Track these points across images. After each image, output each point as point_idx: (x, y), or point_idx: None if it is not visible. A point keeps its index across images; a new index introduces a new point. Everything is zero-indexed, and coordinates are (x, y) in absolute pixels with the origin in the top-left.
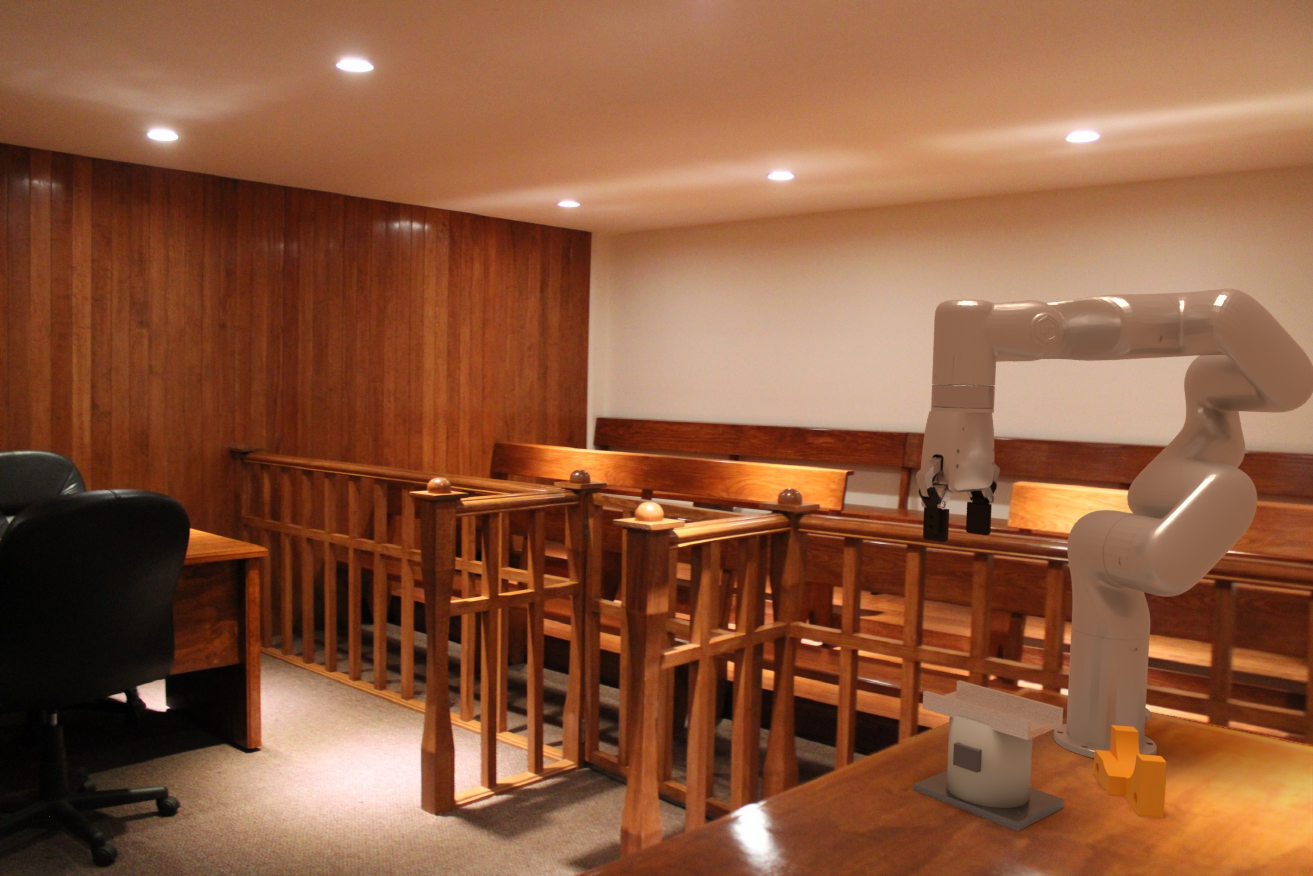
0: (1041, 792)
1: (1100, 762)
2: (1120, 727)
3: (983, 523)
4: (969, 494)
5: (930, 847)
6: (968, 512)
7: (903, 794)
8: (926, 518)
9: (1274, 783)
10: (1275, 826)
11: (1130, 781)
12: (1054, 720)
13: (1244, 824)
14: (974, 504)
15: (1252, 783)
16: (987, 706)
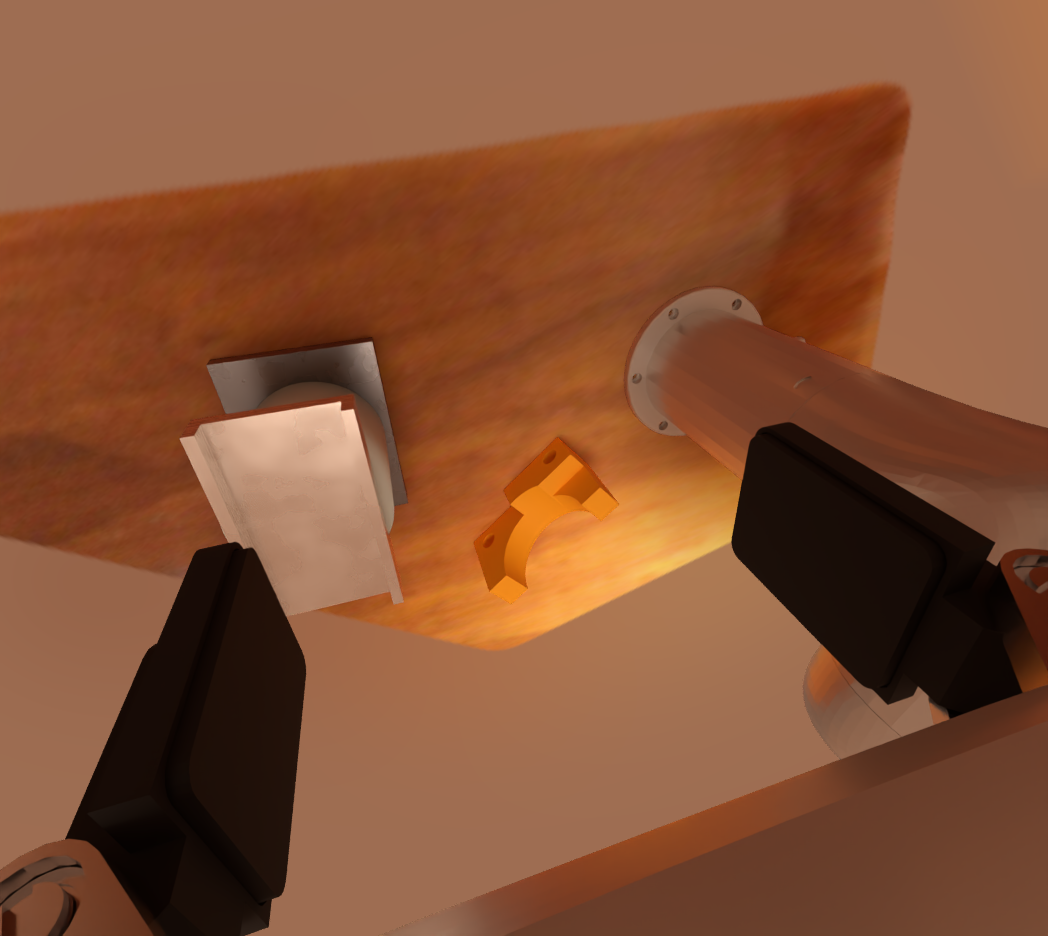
0: (398, 477)
1: (543, 474)
2: (600, 499)
3: (777, 575)
4: (1024, 641)
5: (96, 513)
6: (859, 517)
7: (185, 356)
8: (104, 753)
9: (698, 537)
10: (574, 601)
11: (507, 533)
12: (379, 591)
13: (553, 589)
14: (906, 611)
15: (680, 529)
16: (321, 502)
